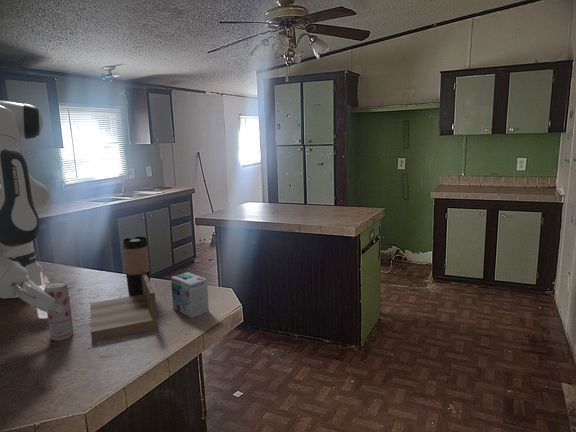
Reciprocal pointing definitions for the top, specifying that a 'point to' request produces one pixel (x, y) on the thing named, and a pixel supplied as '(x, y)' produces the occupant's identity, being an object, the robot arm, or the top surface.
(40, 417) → the top surface
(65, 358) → the top surface
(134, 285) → the travel mug
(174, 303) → the light bulb box
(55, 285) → the beverage can
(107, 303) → the walnut shelf stand
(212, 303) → the top surface
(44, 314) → the beverage cup
